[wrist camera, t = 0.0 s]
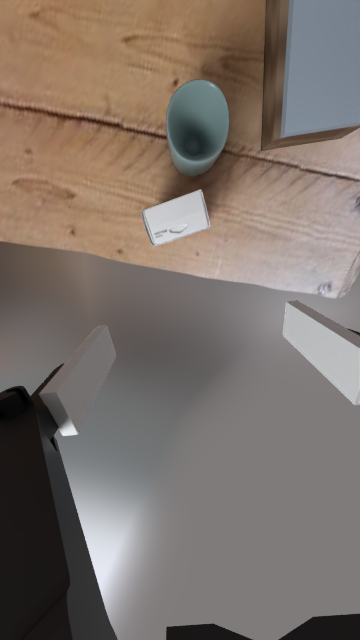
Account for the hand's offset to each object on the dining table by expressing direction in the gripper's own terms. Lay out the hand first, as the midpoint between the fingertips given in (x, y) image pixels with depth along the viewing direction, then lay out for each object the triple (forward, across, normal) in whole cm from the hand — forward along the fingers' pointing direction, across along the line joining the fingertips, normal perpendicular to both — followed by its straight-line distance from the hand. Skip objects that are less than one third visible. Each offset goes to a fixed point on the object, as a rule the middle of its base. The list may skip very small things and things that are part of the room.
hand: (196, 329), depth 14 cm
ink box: (+28, 0, +8) cm, 29 cm away
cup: (+28, +4, +18) cm, 34 cm away
